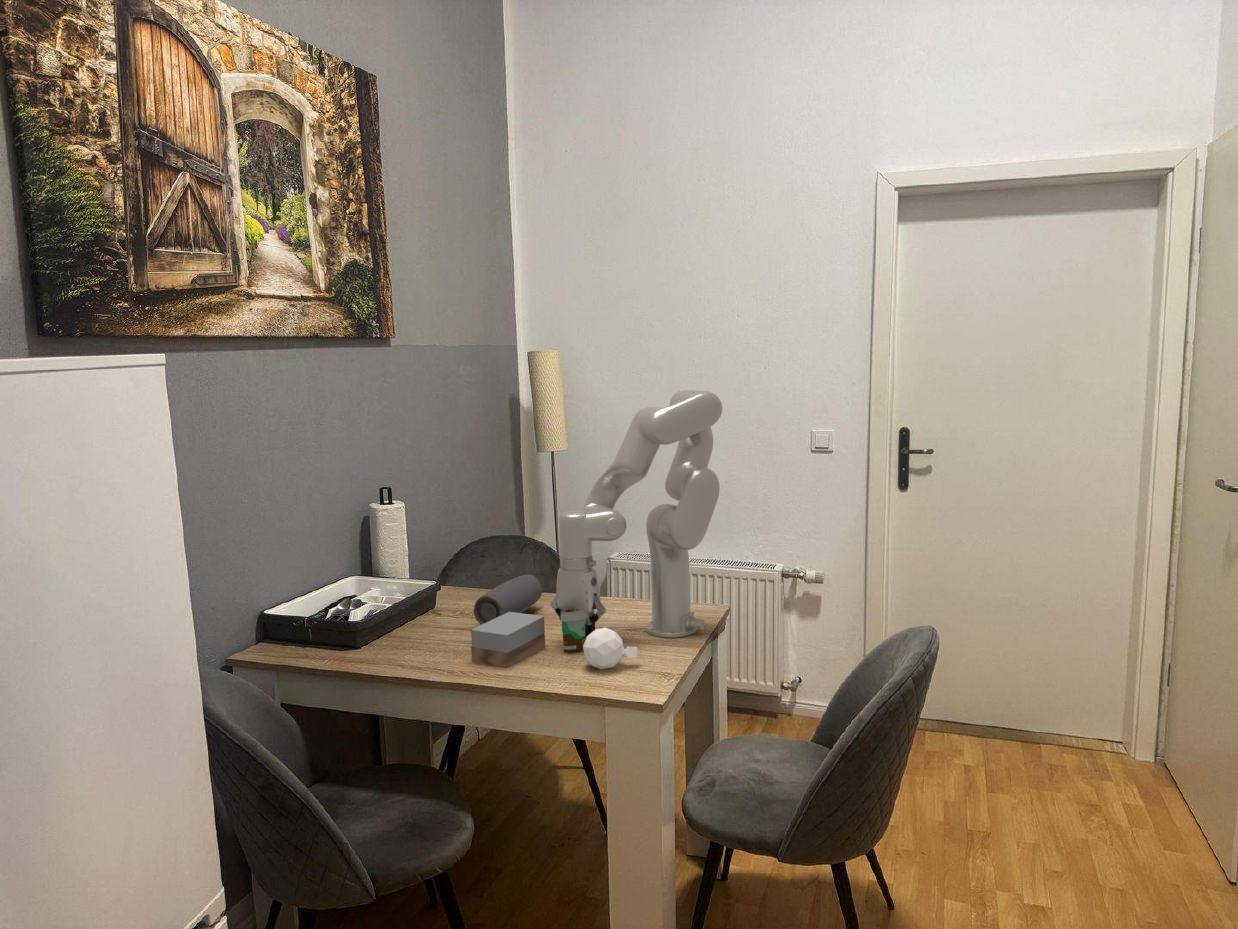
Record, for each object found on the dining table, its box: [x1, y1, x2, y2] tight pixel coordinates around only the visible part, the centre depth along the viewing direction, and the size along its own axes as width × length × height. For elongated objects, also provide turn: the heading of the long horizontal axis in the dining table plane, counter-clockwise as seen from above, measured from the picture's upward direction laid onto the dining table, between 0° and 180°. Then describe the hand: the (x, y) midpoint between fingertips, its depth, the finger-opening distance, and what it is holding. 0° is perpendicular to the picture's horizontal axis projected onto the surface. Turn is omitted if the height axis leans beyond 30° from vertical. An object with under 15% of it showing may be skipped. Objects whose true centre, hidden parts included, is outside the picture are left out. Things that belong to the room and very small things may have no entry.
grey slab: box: [470, 612, 546, 653], centre depth 199 cm, size 10×15×4 cm, turn 152°
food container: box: [560, 610, 593, 654], centre depth 203 cm, size 12×6×10 cm, turn 166°
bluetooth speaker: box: [473, 574, 543, 625], centre depth 227 cm, size 23×9×10 cm, turn 159°
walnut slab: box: [470, 632, 546, 669], centre depth 200 cm, size 10×15×4 cm, turn 151°
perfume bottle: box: [583, 627, 639, 670], centre depth 189 cm, size 9×9×12 cm
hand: (578, 637), depth 203 cm, fingers closed on food container, 5 cm apart
